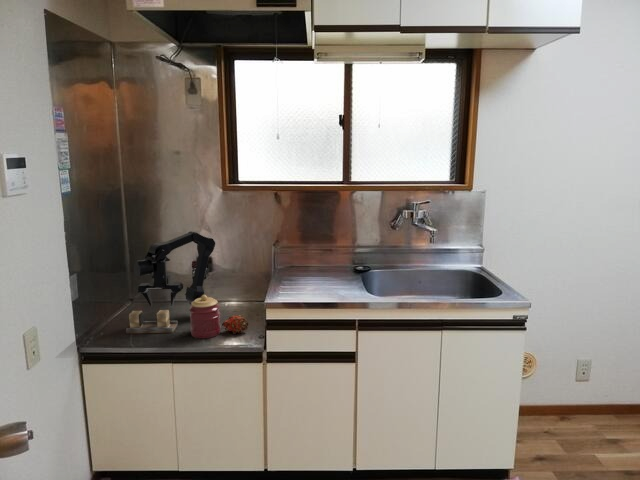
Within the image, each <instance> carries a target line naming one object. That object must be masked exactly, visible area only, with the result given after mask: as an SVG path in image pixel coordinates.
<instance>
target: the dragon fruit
mask: <svg viewBox="0 0 640 480" xmlns="http://www.w3.org/2000/svg"><path fill="white" fill-rule="evenodd" d="M222 326H223V327H224V330H225V331H226V332H231V333H232V335H236V334H237V333H238V334H242V333H243V332H244V331H247V330H248V329H249V327H248V326H249V322H248V319H246V318H245V317H243V316H242V315H241V314H237V315H235V314H234V315H231V316H229V318H228V319H226V320H225V321H224V322H223V323H222V324H221V327H222Z"/></svg>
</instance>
